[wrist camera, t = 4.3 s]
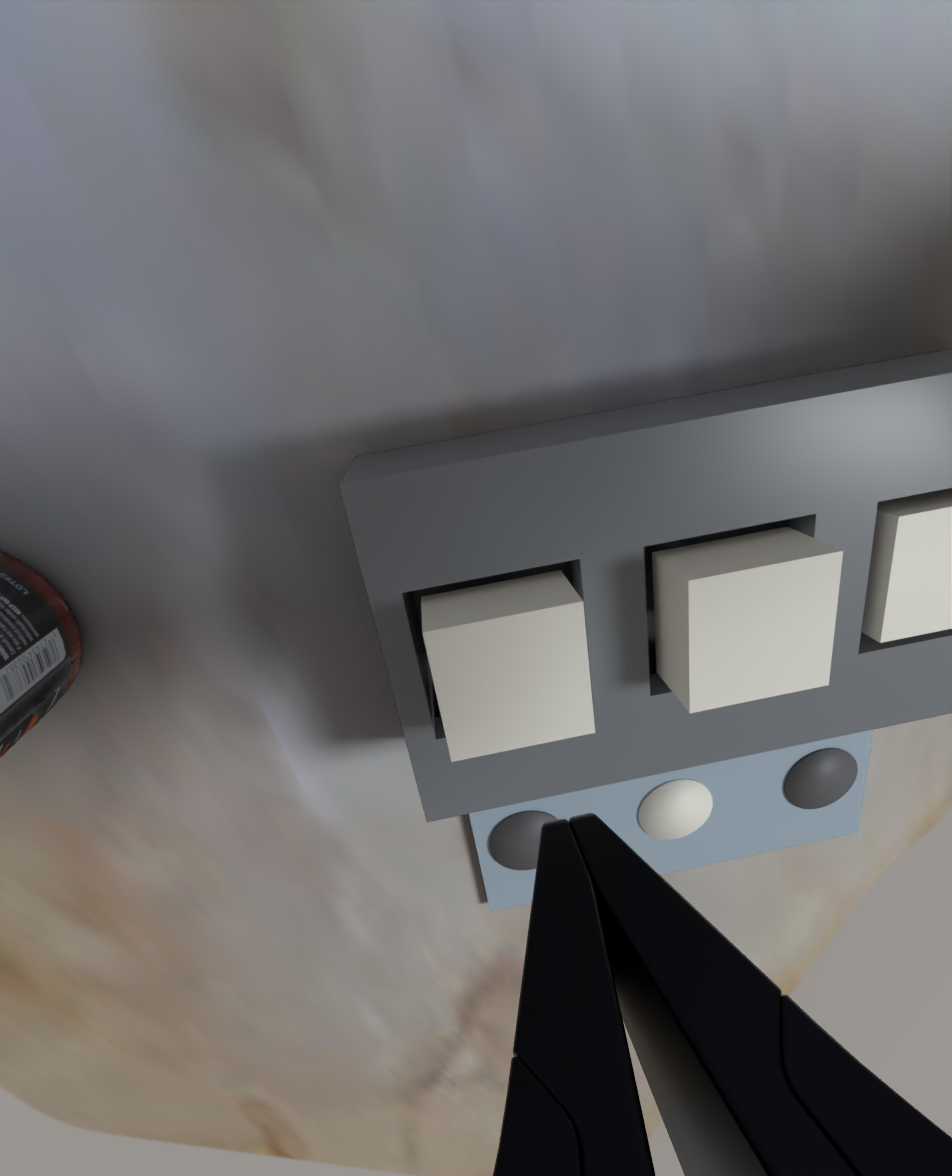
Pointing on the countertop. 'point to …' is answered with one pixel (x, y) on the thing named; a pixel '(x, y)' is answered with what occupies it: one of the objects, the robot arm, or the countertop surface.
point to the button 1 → (509, 664)
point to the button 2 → (910, 568)
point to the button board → (624, 561)
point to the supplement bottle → (32, 649)
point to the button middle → (745, 617)
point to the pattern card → (690, 813)
